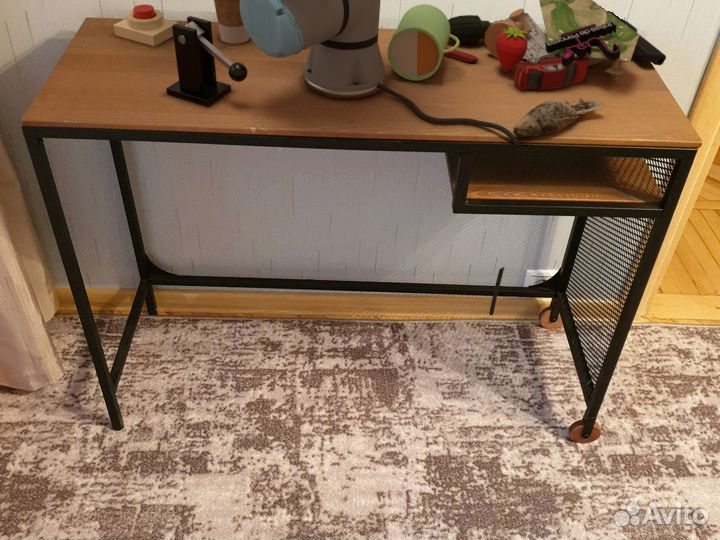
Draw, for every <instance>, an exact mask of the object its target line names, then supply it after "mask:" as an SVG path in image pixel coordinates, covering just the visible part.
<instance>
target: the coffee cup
mask: <svg viewBox="0 0 720 540" xmlns="http://www.w3.org/2000/svg"><path fill="white" fill-rule="evenodd" d="M213 3H214V8H215V9H214V10H215V13H216V19H217V20H216V21H217V24H218V30H219V37H220V41H222V42H224V43H226V44H231V45H239V44H244V43H246V42H248V41H249V40H251V38H250V36H249V34H248V33H247V31H246V29H245V27H244V24H243V22H242V18H241V14H240V0H213Z"/></svg>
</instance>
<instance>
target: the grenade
mask: <svg viewBox="0 0 720 540" xmlns="http://www.w3.org/2000/svg"><path fill="white" fill-rule="evenodd" d="M448 21H449V24H450V34H452V35H454V36H456V37H457V38H458V39H459V42H460V44H466V45H473V44H478V43H479V41H480V40H485V33H486V31H487V29H488V28H489V27H490V26H491V25H492V24H493V22H490V20H482V19H481V17H480V16H479V15H474V14H473V15H472V14H466V15H465V14H464V15H457V16H453V17H450V18H449V19H448ZM448 41H451V42H455V43H456V41H455V40H454V39H452V38H450V37H449V40H448Z"/></svg>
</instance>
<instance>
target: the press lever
mask: <svg viewBox="0 0 720 540" xmlns="http://www.w3.org/2000/svg"><path fill="white" fill-rule="evenodd" d="M184 26H186V27H190V28H194V29H197V35H198V44H199V45H200V46H201V47H203V48H204V49H205V50H206V51H207V52H209V53H210V54H211V55H212V56H213V57H214V58H215V60H216V61H218V62H219V63H220V64H221V65H222V66H223V67H225V68H226V69H227V70H228V76H229V78H230V79H231V80H232V81H234V82H237V83H240V82H243V81H245V80H246V79H247V77H248V74H249V73H248V68H247V67H246V65H245V64H244V63H243V62H239V61H238V62H237V61H236V62H233V61H232V60H231V59H230V58H228V56H226V55H225V54H224V53H223V52H222V51H220V50H219V49H218V48H217V47H215V46H214V44H213V45H212V44H211V43H210V42H209V41H207V40H206V39H205V38H204V37H203V35H204V33H205V31H204V30H203V29H201V28H200V27H199V26H198V25H197V24H195V23H194V22H193V21H192V22H190V23H188V24H187V23H186V24H185V25H184Z"/></svg>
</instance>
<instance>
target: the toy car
mask: <svg viewBox="0 0 720 540" xmlns="http://www.w3.org/2000/svg"><path fill="white" fill-rule="evenodd" d="M588 63H589V58H588V57H579V56H574V61H573V62H572V63H571V64H570V65H569V66H563V65H562V56H561V57H560V58H549V59H539V60H538V59H535V58H529V59H528V60H525V61H522V62H519V63H518V64H517V65H516V66H517V67H516V70H515V73H514V82H513V85H514V86H515V87H517V89H519V90H520V91H525V90H526V91H527V90H530V91H531V90H535V91H539V90H551V89H560V88H564V87H567V86H570V85H574V84H578V83H581V82H583V81H584V79H585V77H586V73H587V71H588V67H589V66H588Z"/></svg>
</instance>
